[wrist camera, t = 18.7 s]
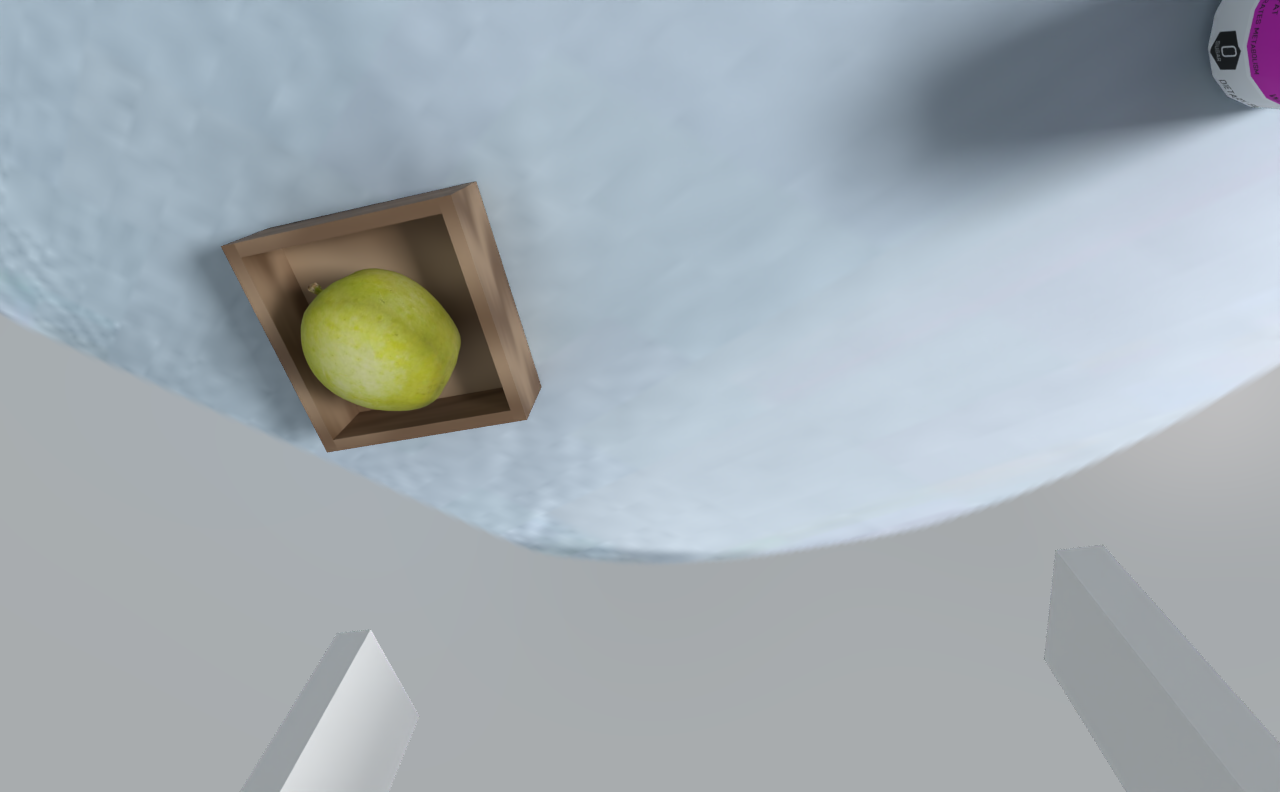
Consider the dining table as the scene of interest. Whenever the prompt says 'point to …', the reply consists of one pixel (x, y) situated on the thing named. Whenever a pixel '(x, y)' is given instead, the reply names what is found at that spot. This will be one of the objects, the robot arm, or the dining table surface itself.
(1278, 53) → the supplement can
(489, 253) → the walnut box
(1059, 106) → the dining table surface
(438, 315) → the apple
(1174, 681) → the robot arm
